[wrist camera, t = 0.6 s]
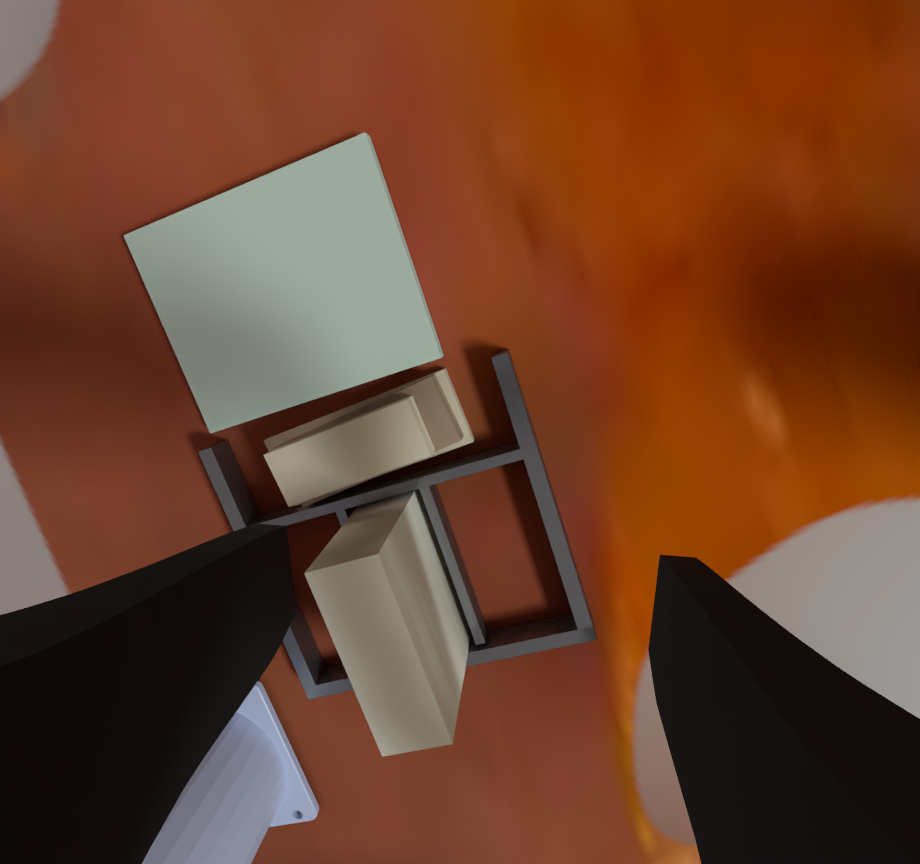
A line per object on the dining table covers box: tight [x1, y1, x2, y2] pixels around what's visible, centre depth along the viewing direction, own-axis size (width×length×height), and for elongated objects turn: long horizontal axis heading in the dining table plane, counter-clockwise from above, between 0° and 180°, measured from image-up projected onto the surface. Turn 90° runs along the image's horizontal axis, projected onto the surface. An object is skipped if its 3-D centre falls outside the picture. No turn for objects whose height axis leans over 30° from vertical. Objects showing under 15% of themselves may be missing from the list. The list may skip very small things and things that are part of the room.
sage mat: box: [123, 132, 444, 433], centre depth 20 cm, size 10×8×1 cm
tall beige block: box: [304, 489, 471, 757], centre depth 20 cm, size 2×7×6 cm, turn 19°
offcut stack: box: [264, 368, 474, 507], centre depth 21 cm, size 8×3×2 cm, turn 112°
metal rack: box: [198, 349, 597, 699], centre depth 22 cm, size 13×12×1 cm
